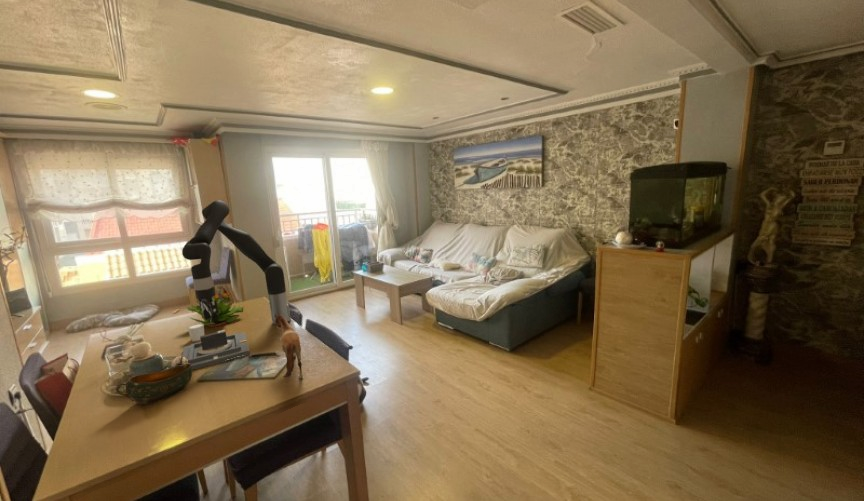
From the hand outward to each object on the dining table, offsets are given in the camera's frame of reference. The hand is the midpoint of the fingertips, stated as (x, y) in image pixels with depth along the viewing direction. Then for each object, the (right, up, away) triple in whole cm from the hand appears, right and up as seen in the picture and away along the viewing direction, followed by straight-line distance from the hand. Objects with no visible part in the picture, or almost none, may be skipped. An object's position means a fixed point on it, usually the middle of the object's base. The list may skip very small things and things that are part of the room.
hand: (211, 320), depth 160 cm
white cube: (-20, -14, +21) cm, 32 cm away
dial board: (0, -16, +3) cm, 16 cm away
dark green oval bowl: (+1, -22, -30) cm, 38 cm away
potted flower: (-23, -10, +40) cm, 47 cm away
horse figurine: (+42, -17, -19) cm, 50 cm away
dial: (0, -13, +3) cm, 14 cm away
